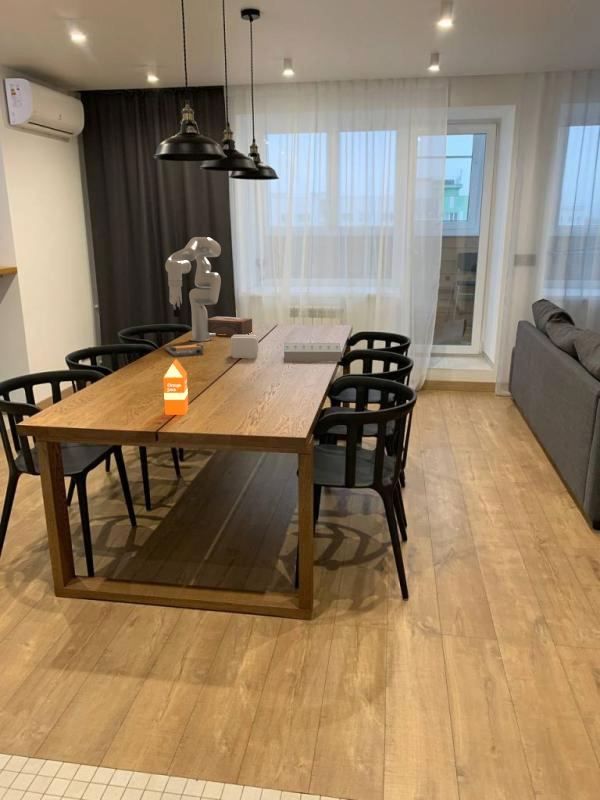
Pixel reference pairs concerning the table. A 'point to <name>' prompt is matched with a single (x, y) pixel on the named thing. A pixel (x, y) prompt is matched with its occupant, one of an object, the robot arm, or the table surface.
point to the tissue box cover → (230, 325)
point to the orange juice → (175, 390)
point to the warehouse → (312, 352)
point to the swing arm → (186, 347)
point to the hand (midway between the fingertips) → (177, 316)
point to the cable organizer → (244, 346)
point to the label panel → (184, 352)
